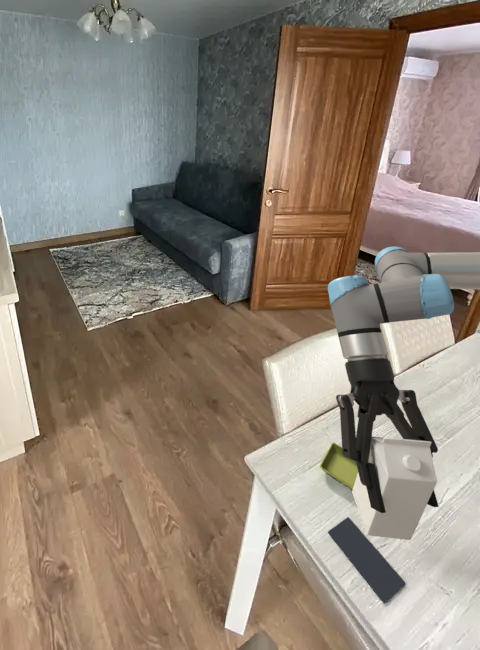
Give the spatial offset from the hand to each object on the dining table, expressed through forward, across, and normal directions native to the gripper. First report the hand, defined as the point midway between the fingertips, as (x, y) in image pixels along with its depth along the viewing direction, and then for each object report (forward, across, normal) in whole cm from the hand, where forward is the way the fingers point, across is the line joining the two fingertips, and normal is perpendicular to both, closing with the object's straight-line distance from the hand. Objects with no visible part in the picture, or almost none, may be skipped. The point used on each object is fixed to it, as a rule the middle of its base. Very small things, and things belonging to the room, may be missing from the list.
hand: (404, 507), depth 55 cm
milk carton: (+3, 0, -8) cm, 9 cm away
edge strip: (+12, 0, -17) cm, 21 cm away
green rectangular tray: (+1, -5, -28) cm, 29 cm away
